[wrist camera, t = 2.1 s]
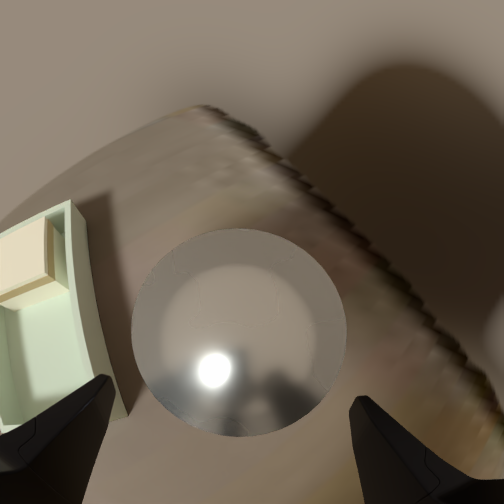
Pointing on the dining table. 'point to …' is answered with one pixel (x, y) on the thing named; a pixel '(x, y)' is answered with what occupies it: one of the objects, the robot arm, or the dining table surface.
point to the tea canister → (238, 332)
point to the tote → (54, 335)
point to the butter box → (32, 265)
